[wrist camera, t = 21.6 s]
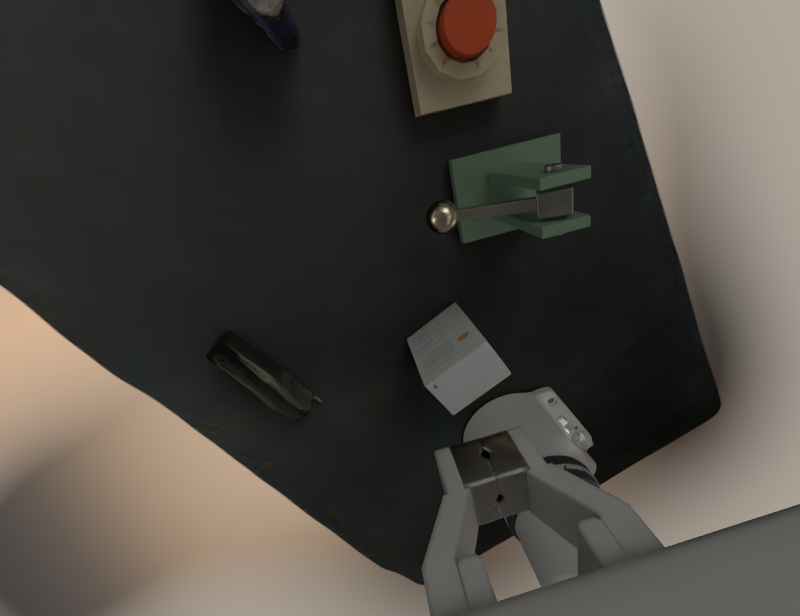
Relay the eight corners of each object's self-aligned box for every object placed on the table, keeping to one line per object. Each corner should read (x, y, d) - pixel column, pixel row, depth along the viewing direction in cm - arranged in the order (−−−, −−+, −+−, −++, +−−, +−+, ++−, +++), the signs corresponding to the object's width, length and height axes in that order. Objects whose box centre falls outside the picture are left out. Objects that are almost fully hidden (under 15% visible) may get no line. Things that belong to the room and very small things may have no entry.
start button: (491, 53, 31) (499, 47, 29) (442, 64, 30) (448, 60, 29) (485, -11, 29) (494, -20, 27) (433, 1, 29) (439, -8, 27)
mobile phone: (199, 362, 37) (306, 435, 43) (217, 344, 37) (323, 421, 42) (215, 340, 42) (310, 409, 47) (232, 323, 41) (326, 395, 47)
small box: (429, 365, 48) (452, 418, 38) (405, 338, 45) (422, 387, 36) (477, 329, 47) (513, 375, 37) (455, 300, 44) (487, 340, 35)
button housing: (500, 96, 36) (520, 89, 32) (415, 117, 35) (425, 113, 31) (488, -45, 31) (511, -74, 27) (390, -23, 31) (398, -49, 27)
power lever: (433, 230, 37) (425, 239, 34) (427, 199, 36) (419, 207, 33) (570, 212, 32) (573, 221, 30) (569, 175, 31) (573, 182, 28)
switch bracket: (460, 241, 41) (502, 272, 31) (447, 160, 38) (491, 163, 27) (556, 215, 42) (630, 237, 31) (553, 133, 38) (637, 126, 27)
